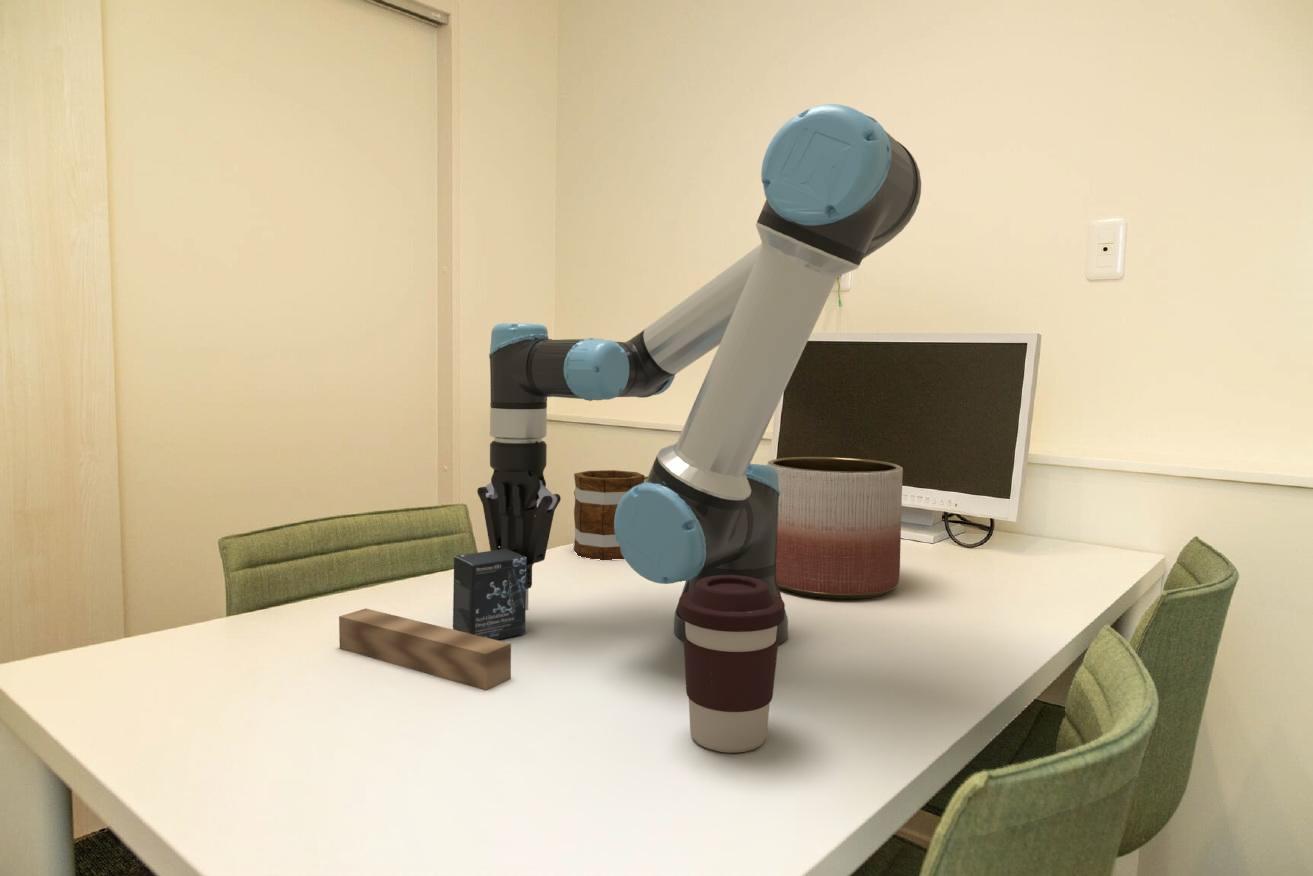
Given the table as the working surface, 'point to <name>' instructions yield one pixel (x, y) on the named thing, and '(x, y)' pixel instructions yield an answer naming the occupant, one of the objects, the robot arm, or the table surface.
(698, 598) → the coffee cup
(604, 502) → the mug
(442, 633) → the brown wooden bar
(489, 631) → the box
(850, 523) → the planter
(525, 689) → the table surface
